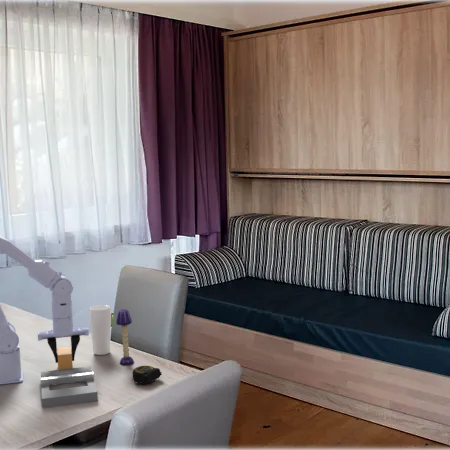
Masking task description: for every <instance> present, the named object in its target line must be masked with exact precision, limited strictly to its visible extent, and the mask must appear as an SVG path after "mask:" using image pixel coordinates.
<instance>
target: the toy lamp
mask: <svg viewBox="0 0 450 450" xmlns="http://www.w3.org/2000/svg"><path fill="white" fill-rule="evenodd" d="M131 324H132V317H131V315H130V312H129V310H128V309H124V308H123V309H119V310H118V312H117V316H116V325H118V326H121V333H122V334H121V336H122V347H123V348H122V352H123V353H122V355H123V357H122V358H120V360H119V364H120V365H121V366H131V365H133V364H134V363H135V361H134V360H135V359H133V357H132V356H130V353H129V352H130V348H129V332H128V326H129V325H131Z"/></svg>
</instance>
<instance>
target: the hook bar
mask: <svg viewBox="0 0 450 450" xmlns="http://www.w3.org/2000/svg"><path fill="white" fill-rule="evenodd" d="M93 379H94V380H95V373H94V371H92V372H87V373H78V374H70V375H62V376H53V377H45V378H41V377H40V382H41V383H40V385H41V386H43V385H52V384H60V383H68V382H76V381H84V380H93ZM84 382H85V381H84ZM76 383H77V382H76ZM68 384H69V383H68ZM60 385H61V384H60ZM52 386H53V385H52Z"/></svg>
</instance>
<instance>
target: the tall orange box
mask: <svg viewBox="0 0 450 450" xmlns="http://www.w3.org/2000/svg"><path fill="white" fill-rule="evenodd" d="M57 356H58V363H57V370H62V369H70V368H74V367H73V366H74V365H73V361H72V352H71V345H70V346H62V347H57Z"/></svg>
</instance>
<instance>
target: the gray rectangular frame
mask: <svg viewBox="0 0 450 450" xmlns="http://www.w3.org/2000/svg"><path fill="white" fill-rule="evenodd" d="M87 372H93V369H92V366H91V365H90V366H89V365H88V366H81V367H73V368H70V369H62V370H58V369H55V370H46V371H40V379H41V378H45V377H53V376H62V375H70V374H78V373H87ZM84 382H85V386H84V385H83V386H75V387H67V388H59V389H58V388H57V389H52V390H51V389H50V387H52V386H58V385H66V384H73V383H76V384H77V383H84ZM40 389H41V406H42V409H46V408H55V407H63V406H70V405H71V406H72V405H77V404H83V403H84V404H85V403H92V402H93V403H94V402H98V401H99V393H98V389H97V384H96V381H95V378H94V379H93V380H84V381H76V382H68V383H60V384H52V385H43V386H41V388H40Z"/></svg>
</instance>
